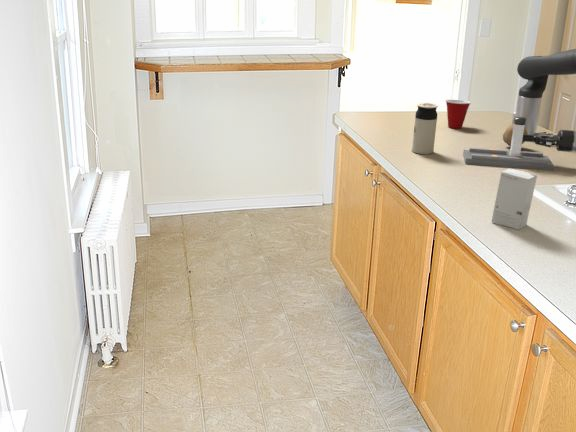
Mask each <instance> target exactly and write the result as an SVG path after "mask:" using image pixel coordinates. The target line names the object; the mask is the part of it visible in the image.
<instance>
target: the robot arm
mask: <svg viewBox="0 0 576 432" xmlns="http://www.w3.org/2000/svg"><path fill="white" fill-rule="evenodd" d="M516 70H517V74H518V75H519V77H521V78H522V79H523V80H527V82H526V83H525V84H524V85H523V86H522V87H520V88H519V90H518V95H517V102H516V107H515V112H513V115H512V121H511V122H512V123H511V125H512V124H514V117H523V118H526V123H525V128H526V129H527V132H528V135H525V134H523V139H522V141H525V142H529V143H532V144H535V145H539V146H541V147H547V148H552V147H553V146H555V147H556V150H557V152H566V153H576V130H571V129H570V130H569V129H560V130H558V133H557V134H554V133H551V132H548V133H547V132H546V131H542V132H537V130H538V123H539V119H540V111H541V106H542V100H543V96H544V95H543V94H544V92H545V90H546V88H547V84H548V79H549V76H565V75H566V76H568V75H576V48H573V49H569V50H565V51H560V52H557V53H553V54H552V53H551V54H549V55H544V56H543V55H533V56H531V55H530V56H526V57H524V58H523V59H521V60H520V61H519V63H518V64H517V69H516ZM525 142H524V143H525Z"/></svg>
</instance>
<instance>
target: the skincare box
mask: <svg viewBox="0 0 576 432" xmlns="http://www.w3.org/2000/svg"><path fill="white" fill-rule="evenodd" d="M499 177H500V178H499V183H498V187H497V192H496V196H495V201H494V207H493V212H492V216H491V223H493V224H497V225H501V226H504V227H509V228H512V229H514V230H520V229H522V228H524V227H525V226H526V225H527V223H528V219H529V215H530V209H531V205H532V202H533V201H532V200H533V197H534V192H535V187H536V183H537V177H538V175H537V174H532V173H530V172H526V171H522V170H518V169H515V168H511V167H508V168H506V169H504V170H503V171H501V172H500V176H499Z"/></svg>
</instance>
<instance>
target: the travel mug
mask: <svg viewBox="0 0 576 432" xmlns="http://www.w3.org/2000/svg"><path fill="white" fill-rule="evenodd" d="M438 106H439V105H438V104H437V103H430V102H419V103H417V110H416V111H415V116H414V117H415V118H414V126H413V127H414V129H413V134H412V135H413V138H412V144H411V145H412V147H411V151H412V152H413V153H415V154H418V155H430V154H433V153H434V148H435V141H436V140H435V138H436V131H437V124H438V123H437V122H438V112H437V108H438Z"/></svg>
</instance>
